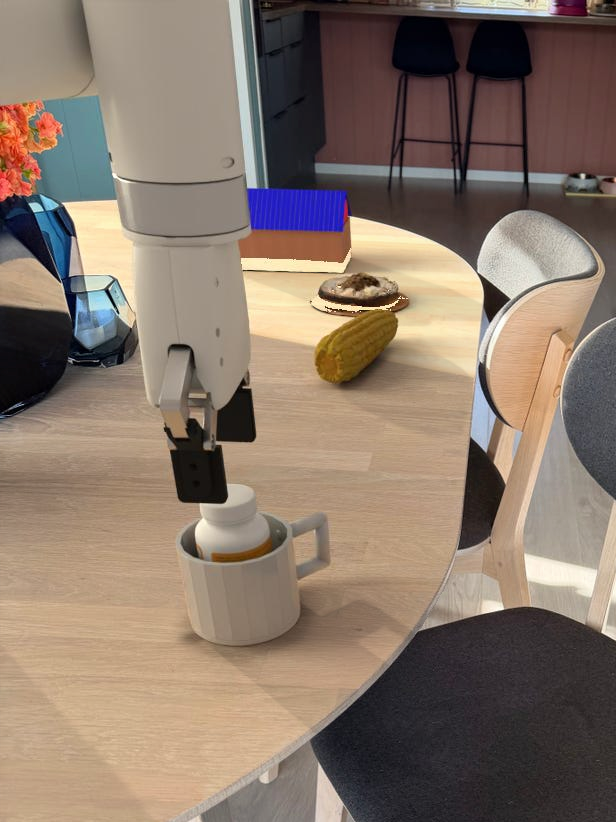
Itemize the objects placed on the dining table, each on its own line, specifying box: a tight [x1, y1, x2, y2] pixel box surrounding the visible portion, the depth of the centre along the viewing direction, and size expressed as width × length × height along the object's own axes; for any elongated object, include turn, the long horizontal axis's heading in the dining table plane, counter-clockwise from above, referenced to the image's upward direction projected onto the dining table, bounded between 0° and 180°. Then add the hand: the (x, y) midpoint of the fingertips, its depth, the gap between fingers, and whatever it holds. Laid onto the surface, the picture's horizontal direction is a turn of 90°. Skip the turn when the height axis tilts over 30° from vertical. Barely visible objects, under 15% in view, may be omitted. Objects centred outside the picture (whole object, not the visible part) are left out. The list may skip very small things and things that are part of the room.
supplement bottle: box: [195, 483, 272, 563], centre depth 70 cm, size 5×5×10 cm
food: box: [313, 309, 399, 384], centre depth 118 cm, size 21×6×6 cm, turn 166°
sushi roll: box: [309, 271, 410, 317], centre depth 141 cm, size 15×15×4 cm
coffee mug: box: [174, 509, 332, 647], centre depth 72 cm, size 12×8×7 cm
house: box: [238, 187, 353, 263], centre depth 156 cm, size 12×20×12 cm, turn 89°
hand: (220, 469), depth 65 cm, fingers open, 9 cm apart
